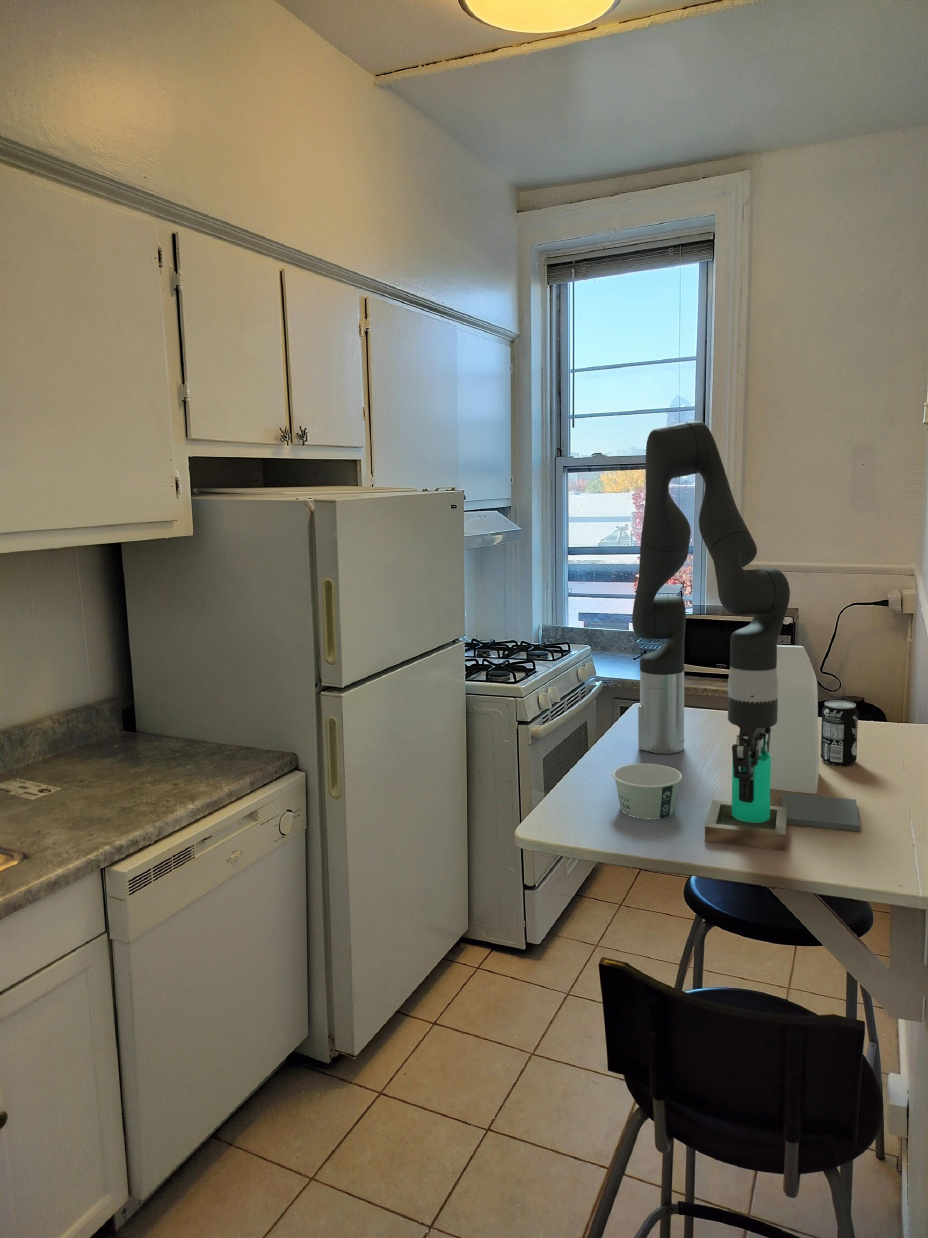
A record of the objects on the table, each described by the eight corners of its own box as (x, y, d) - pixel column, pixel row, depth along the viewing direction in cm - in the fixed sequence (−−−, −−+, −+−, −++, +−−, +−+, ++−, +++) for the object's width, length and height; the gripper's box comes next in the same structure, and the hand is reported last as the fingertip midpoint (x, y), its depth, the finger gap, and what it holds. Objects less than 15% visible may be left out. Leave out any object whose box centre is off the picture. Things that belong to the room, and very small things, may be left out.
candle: (735, 822, 135) (736, 750, 133) (728, 808, 141) (729, 739, 139) (774, 823, 134) (775, 750, 132) (765, 808, 140) (767, 739, 138)
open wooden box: (704, 841, 134) (704, 826, 134) (712, 813, 145) (712, 800, 145) (785, 850, 130) (785, 835, 130) (786, 821, 141) (787, 807, 141)
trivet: (780, 823, 140) (780, 817, 140) (782, 798, 151) (782, 792, 151) (859, 831, 136) (859, 825, 136) (855, 805, 147) (855, 799, 147)
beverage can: (849, 756, 172) (851, 699, 171) (861, 767, 166) (863, 707, 164) (816, 756, 173) (817, 699, 171) (826, 767, 167) (828, 708, 165)
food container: (599, 804, 152) (599, 770, 151) (654, 793, 156) (654, 759, 155) (638, 828, 141) (638, 790, 140) (696, 814, 146) (696, 778, 145)
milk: (819, 773, 163) (822, 641, 159) (816, 794, 153) (819, 653, 149) (753, 767, 168) (755, 639, 164) (747, 786, 158) (748, 650, 154)
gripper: (764, 707, 126) (763, 815, 129) (788, 686, 138) (786, 786, 141) (715, 701, 131) (714, 806, 133) (741, 682, 142) (740, 778, 145)
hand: (751, 795), depth 137 cm, fingers closed on candle, 5 cm apart
